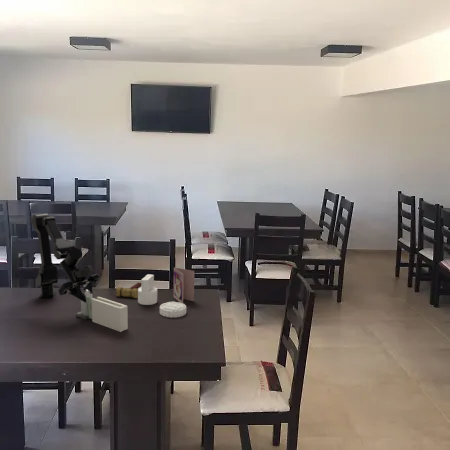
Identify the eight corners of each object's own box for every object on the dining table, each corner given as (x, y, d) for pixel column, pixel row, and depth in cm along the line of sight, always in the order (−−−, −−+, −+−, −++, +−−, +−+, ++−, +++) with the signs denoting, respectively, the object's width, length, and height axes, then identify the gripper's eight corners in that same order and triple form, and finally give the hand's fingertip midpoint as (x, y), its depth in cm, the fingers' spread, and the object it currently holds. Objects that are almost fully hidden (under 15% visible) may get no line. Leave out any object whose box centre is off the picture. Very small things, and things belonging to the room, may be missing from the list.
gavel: (132, 278, 263) (150, 279, 261) (131, 286, 263) (150, 288, 262) (115, 288, 242) (135, 290, 241) (115, 297, 243) (135, 299, 241)
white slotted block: (92, 321, 213) (91, 299, 211) (99, 318, 216) (98, 296, 214) (120, 331, 204) (120, 308, 202) (127, 328, 207) (127, 305, 205)
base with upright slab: (153, 305, 233) (153, 281, 231) (135, 303, 235) (135, 279, 233) (159, 299, 242) (159, 275, 240) (142, 297, 244) (142, 273, 241)
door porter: (76, 316, 218) (75, 289, 215) (85, 312, 222) (84, 286, 220) (85, 319, 215) (84, 292, 212) (94, 316, 219) (93, 289, 216)
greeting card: (171, 297, 245) (172, 267, 242) (185, 295, 249) (186, 265, 246) (181, 304, 236) (181, 274, 232) (195, 302, 239) (196, 272, 236)
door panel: (88, 317, 216) (87, 297, 214) (91, 316, 217) (90, 297, 216) (107, 324, 210) (107, 304, 208) (110, 323, 211) (110, 303, 209)
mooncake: (190, 310, 230) (190, 303, 229) (179, 319, 219) (179, 312, 218) (166, 306, 234) (166, 299, 233) (154, 315, 223) (154, 307, 222)
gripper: (62, 265, 207) (80, 297, 203) (97, 256, 222) (114, 285, 218) (50, 279, 213) (68, 310, 209) (85, 269, 228) (102, 298, 224)
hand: (89, 300), depth 215 cm, fingers closed on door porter, 3 cm apart
